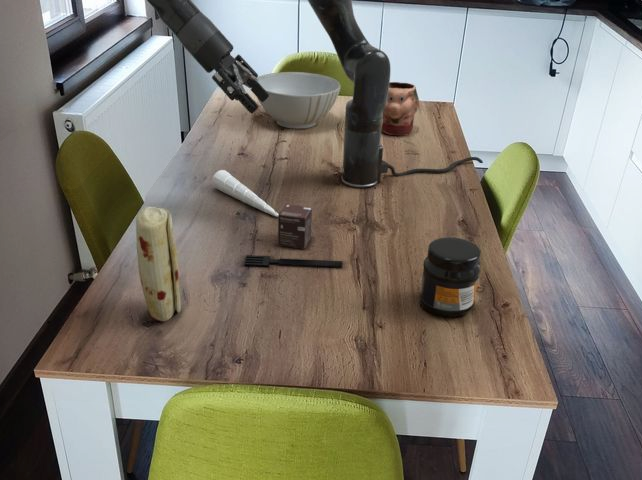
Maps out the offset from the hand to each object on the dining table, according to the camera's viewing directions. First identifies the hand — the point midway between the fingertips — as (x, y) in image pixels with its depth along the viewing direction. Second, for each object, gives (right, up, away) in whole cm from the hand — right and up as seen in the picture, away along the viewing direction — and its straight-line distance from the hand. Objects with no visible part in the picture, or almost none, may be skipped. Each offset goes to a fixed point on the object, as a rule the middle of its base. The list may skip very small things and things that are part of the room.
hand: (261, 104), depth 148 cm
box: (+7, -28, +6) cm, 30 cm away
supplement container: (+37, -43, -13) cm, 58 cm away
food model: (-16, -45, -20) cm, 52 cm away
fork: (+7, -34, -2) cm, 34 cm away
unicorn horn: (-6, -16, +23) cm, 28 cm away
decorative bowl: (+3, +20, +74) cm, 77 cm away
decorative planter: (+35, +17, +73) cm, 83 cm away
